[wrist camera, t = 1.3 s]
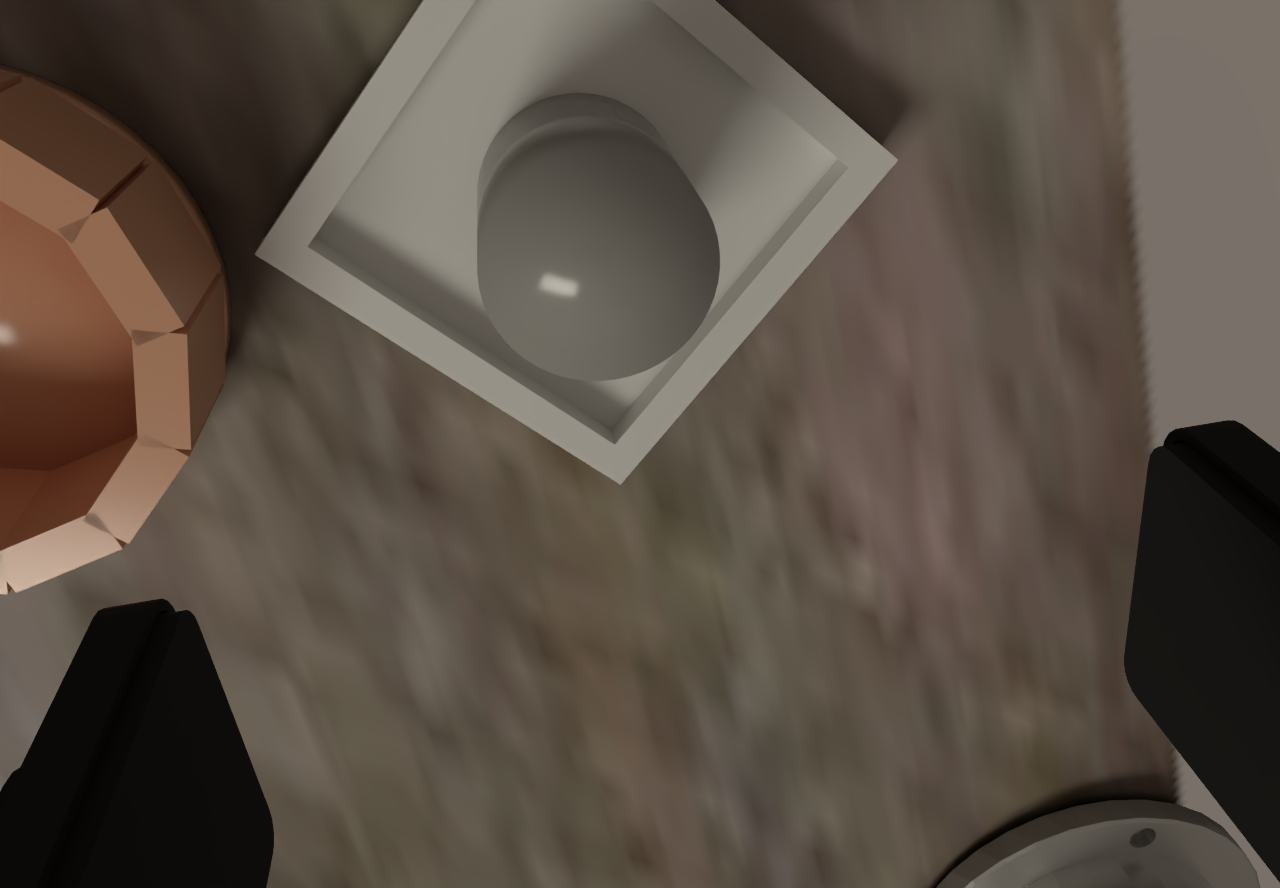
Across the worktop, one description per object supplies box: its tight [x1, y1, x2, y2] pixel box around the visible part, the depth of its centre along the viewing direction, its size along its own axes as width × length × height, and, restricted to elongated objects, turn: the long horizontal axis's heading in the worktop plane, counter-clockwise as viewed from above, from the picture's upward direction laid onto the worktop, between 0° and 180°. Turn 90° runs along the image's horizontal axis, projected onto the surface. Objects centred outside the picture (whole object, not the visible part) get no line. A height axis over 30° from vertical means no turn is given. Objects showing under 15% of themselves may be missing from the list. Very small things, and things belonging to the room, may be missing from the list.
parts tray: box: [254, 0, 898, 485], centre depth 25 cm, size 10×10×1 cm
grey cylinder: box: [477, 93, 720, 381], centre depth 23 cm, size 4×4×5 cm
